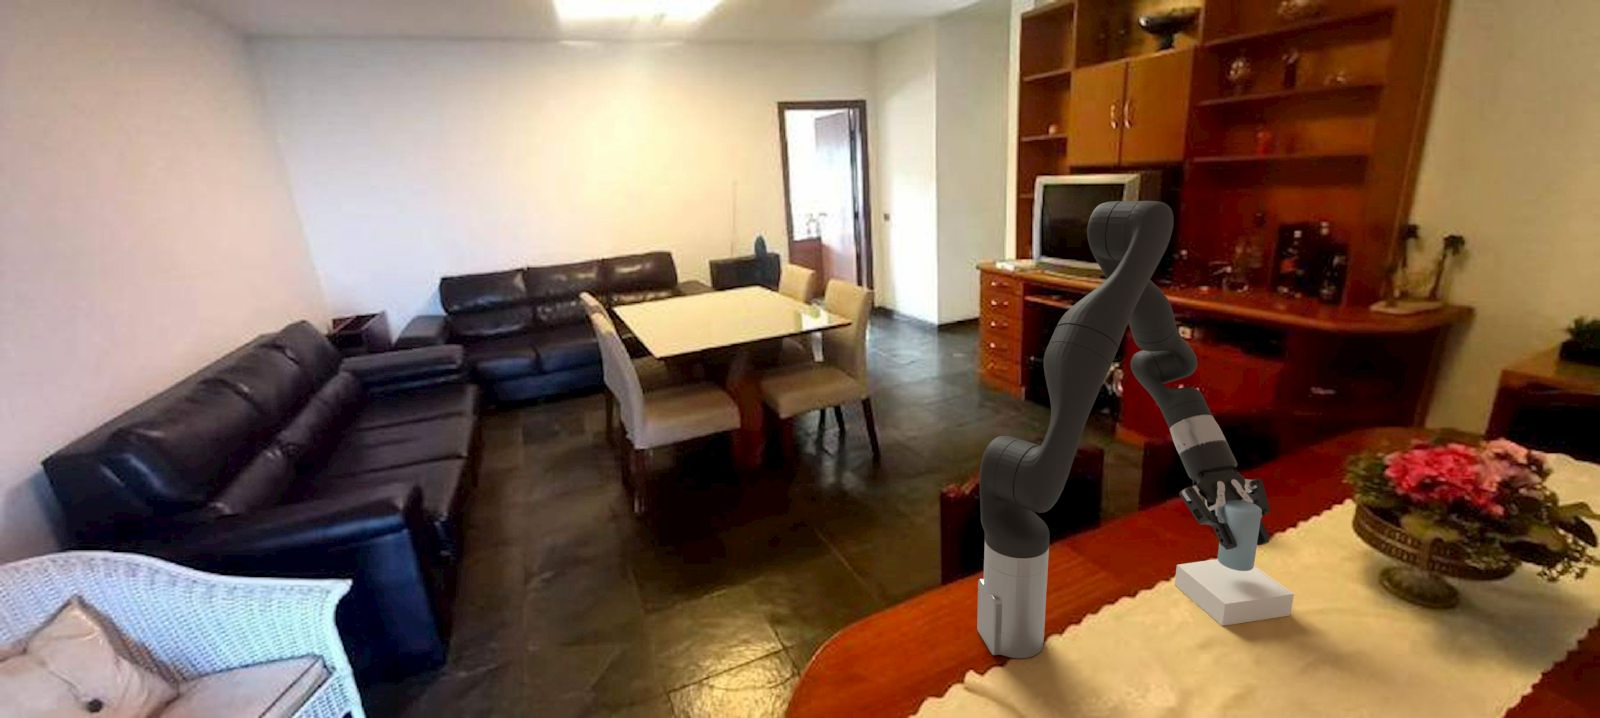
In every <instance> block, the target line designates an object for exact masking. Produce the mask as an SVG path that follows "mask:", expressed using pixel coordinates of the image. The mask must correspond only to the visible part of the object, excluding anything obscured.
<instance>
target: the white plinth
mask: <svg viewBox="0 0 1600 718" xmlns="http://www.w3.org/2000/svg"><path fill="white" fill-rule="evenodd" d="M1174 586H1175V587H1176V588H1178V589H1179V590H1180V591H1181V592H1182V593H1183V594H1185V596H1187V597H1188V598H1189V599H1190V600H1192V602H1194V603H1195V604H1196V606H1197V605H1198V607H1199V608H1201V610H1203V611H1204V612H1206V614H1208V615H1209V616H1210V617H1211V618H1212V619H1213V620H1214V621H1216V622H1217V623H1218V624H1219V625H1221V626H1222V627H1224V626H1230V625H1236V624H1237V625H1238V624H1243V623H1250V622H1258V621H1263V620H1268V619H1276V618H1281V617H1283V618H1284V617H1289V616H1291V614H1292V609H1293V602H1294V596H1295V593H1294V592H1292V591H1291V590H1289V589H1288V588H1286V587H1285V586H1284V585H1282V584H1281V583H1279V582H1278V581H1276V580H1275V579H1274V578H1272V577H1271V576H1269V575H1268V574H1266V573H1265V572H1264V571H1262V570H1261V569H1260V568H1258V567H1257V566H1255V565H1254V567H1253V569H1252V570H1249V571H1238V570H1233V569H1230V568H1228V567H1225V566H1224V565H1222V564H1221V563H1220V562H1219V561H1218V559H1217V558H1216V559H1207V560H1202V561H1193V562H1186V563H1181V564H1176V570H1175V579H1174Z"/></svg>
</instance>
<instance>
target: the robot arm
mask: <svg viewBox="0 0 1600 718" xmlns="http://www.w3.org/2000/svg"><path fill="white" fill-rule="evenodd" d="M1086 229H1087V231H1086V232H1087V233H1086V234H1087V235H1086V236H1087V241H1088V246H1089V249H1090V251H1091V254H1092V255H1093V257H1094V259H1095V260H1096V262H1097V264H1098V266H1099V267H1100V270H1101V271H1102V272H1103V274H1104V277H1105V278H1106V279H1105V281H1104V282H1102V283H1101V284H1100V285H1098V286H1097V287H1096V288H1095V289H1093V290H1092V291H1090V292H1089V293H1088V294H1087V295H1085V296H1084V297H1082V298H1081V299H1080V300H1079V301H1077V302H1076V303H1075V304H1073V306H1071V307H1070V308H1069V309H1068V310H1067V311H1066V312H1064V314H1063V315H1062V316H1061V318H1060V319H1059V321H1058V323H1057V325H1056V326H1055V329H1054V331H1053V333H1052V336H1051V338H1050V340H1049V342H1048V344H1047V347H1046V349H1045V351H1044V355H1043V370H1044V377H1045V381H1046V382H1045V383H1046V387H1047V392H1048V395H1049V401H1050V408H1051V409H1050V412H1051V413H1050V420H1049V424H1048V428H1047V431H1046V434H1045V436H1044V439H1043V441H1042V443H1041V445H1040V444H1037V443H1034V442H1030V441H1027V440H1023V439H1020V438H1017V437H1013V436H1009V435H998V436H997V437H995V438H994V439H992V440H991V441H990V442H989V443H988V445H987V446H986V448H985V450H984V452H983V455H982V458H981V463H980V468H979V502H980V507H979V508H980V523H981V526H982V528H983V532H984V551H983V552H984V553H983V554H984V555H983V557H984V558H983V578H979V579H978V581H977V583H978V584H977V622H976V623H977V625H976V626H977V627H976V628H977V630H976V631H977V632H978V633H979V635H980V637H981V639H982V640H983V642H984V643H985V645H986V647H987V648H988V650H989V652H990V653H991V655H992V656H997V655H999V656H1000V655H1001V656H1003V657H1008V658H1012V659H1027V658H1031V657H1032V658H1033V657H1034V656H1036V655H1038V654H1039V653H1040V652H1041V651H1042V649H1043V647H1044V639H1045V623H1046V605H1047V604H1046V603H1047V590H1048V589H1047V588H1048V585H1047V584H1048V571H1049V570H1048V569H1049V553H1050V552H1049V551H1050V529H1049V527H1048V525H1047V524H1046V522H1045V521H1044V520H1043V519H1042V518H1041V517H1040V516H1039V515H1037V514H1038V513H1039V514H1042V513H1046V512H1048V511H1050V510H1051V509H1052V508H1053V507H1054V506H1055V504H1056V503H1057V502H1058V501H1059V498H1060V497H1061V495H1062V492H1063V491H1064V488H1065V486H1066V483H1067V481H1068V478H1069V475H1070V473H1071V469H1072V466H1073V462H1074V459H1075V457H1076V452H1077V451H1078V448H1079V445H1080V442H1081V438H1082V434H1083V432H1084V429H1085V426H1086V424H1087V421H1088V418H1089V415H1090V413H1091V411H1092V409H1093V406H1094V404H1095V402H1096V399H1097V397H1098V395H1099V392H1100V391H1101V388H1102V386H1103V384H1104V382H1105V380H1106V377H1107V376H1108V373H1109V371H1110V369H1111V367H1112V364H1113V361H1114V360H1115V357H1116V354H1117V353H1118V351H1119V348H1120V345H1121V342H1122V341H1123V337H1124V335H1125V332H1126V329H1127V327H1128V325H1129V328H1130V332H1131V334H1132V339H1133V341H1134V343H1135V345H1136V346H1137V347H1138V348H1139V349H1141V350H1140V351H1137V352H1136V353H1134V354H1133V356H1132V358H1131V360H1130V369H1131V372H1132V374H1133V376H1134V378H1135V379H1136V380H1137V381H1138V382H1139V384H1140V385H1141V386H1142V387H1143V388H1144V389H1145V390H1146V391H1147V392H1148V394H1149V395H1150V396H1151V397H1152V399H1153V400H1154V402H1155V403H1156V404H1157V406H1158V407H1159V409H1160V412H1161V413H1162V416H1163V417H1164V420H1165V423H1166V424H1167V426H1168V428H1169V429H1168V430H1169V432H1170V435H1171V438H1172V442H1173V444H1174V446H1175V449H1176V451H1177V453H1178V456H1179V457H1180V460H1181V462H1182V464H1183V467H1184V470H1185V471H1186V473H1187V476H1188V477H1189V479H1191V480H1192V486H1188V487H1186V488H1184V489H1182V490H1180V492H1178V493H1179V494H1178V495H1179V497H1180V498H1181V500H1182V501H1183V502H1184V504H1185V505H1186V507H1187V508H1188V510H1189V511H1190V513H1191V514H1192V516H1193V517H1194V519H1195V520H1196V521H1197V523H1198V524H1199V525H1202V526H1203V525H1206V526H1210V527H1211V528H1212V529H1213V530H1214V534H1215V535H1216V538H1217V540H1218V542H1219V543H1220V544H1221V545H1222V546H1224V548H1225V549H1226V550H1229V549H1233V548H1236V547H1237V543H1236V541H1235V538H1234V536H1233V534H1232V532H1231V530H1230V527H1229V526H1228V524H1225V514H1224V507H1225V505H1224V504H1226V503H1225V502H1226V501H1229V500H1243V501H1247V502H1251V503H1253V504H1255V505H1257V506H1259V507H1260V508H1261V509H1262V514H1261V521H1260V527H1259V534H1258V541H1257V546H1263V545H1267V544H1268V543H1269V542H1270V535H1269V533H1268V530H1267V529H1266V526H1265V524H1264V522H1263V519H1262V518H1263V516H1265V515H1267V514H1269V513H1270V512H1271V510H1270V509H1271V508H1270V505H1269V501H1268V497H1267V494H1266V490H1265V489H1266V488H1265V485H1264V483H1263V480H1262V479H1261V478H1260V477H1257V478H1254V479H1249V478H1248V479H1247V478H1244V477H1243V475H1242V474H1240V472H1239V471H1238V462H1237V460H1236V457H1235V455H1234V454H1233V452H1232V450H1231V448H1230V446H1229V443H1228V441H1227V439H1226V437H1225V435H1224V434H1223V431H1222V429H1221V428H1220V425H1219V424H1218V422H1217V421H1216V420H1215V418H1214V416H1213V413H1212V412H1211V410H1210V408H1209V406H1208V404H1207V401H1206V400H1205V398H1204V396H1203V394H1202V392H1201V391H1200V390H1199V389H1198V388H1195V387H1189V386H1188V387H1178V388H1177V387H1175V388H1174V387H1168V386H1166V385H1165V384H1168V383H1172V382H1175V381H1178V380H1181V379H1184V378H1185V379H1186V378H1188V377H1190V376H1191V375H1193V374H1194V373H1195V371H1196V370H1197V367H1198V358H1197V355H1196V353H1195V352H1194V350H1193V349H1192V347H1191V346H1190V344H1189V343H1188V342H1187V341H1186V340H1185V339H1184V338H1183V336H1182V335H1181V334H1180V332H1179V330H1178V327H1177V323H1176V318H1175V314H1174V311H1173V308H1172V304H1171V303H1170V301H1169V299H1168V297H1167V296H1166V295H1165V293H1164V292H1163V291H1162V290H1161V288H1159V286H1157V285H1156V284H1155V283H1154V282H1153V281H1152V280H1151V278H1152V277H1153V275H1154V274H1155V271H1156V269H1157V267H1158V265H1159V264H1160V262H1161V261H1162V258H1163V256H1164V255H1165V253H1166V250H1167V248H1168V246H1169V243H1170V241H1171V238H1172V237H1171V236H1172V233H1173V229H1174V213H1173V210H1172V208H1171V207H1170V206H1169V205H1168V204H1167V203H1165V202H1162V201H1157V200H1156V201H1155V200H1116V201H1115V200H1114V201H1113V200H1111V201H1106V202H1102V203H1100V204H1098V205H1097V206H1096V207H1095V208H1094V210H1093V211H1092V213H1091V214H1090V217H1089V219H1088V223H1087V228H1086ZM1200 495H1201V496H1202V497H1203V498H1204V499H1205V504H1204V502H1203V501H1202V499H1201V498H1200Z"/></svg>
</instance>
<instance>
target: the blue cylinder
mask: <svg viewBox="0 0 1600 718" xmlns="http://www.w3.org/2000/svg"><path fill="white" fill-rule="evenodd" d="M1225 503H1226V504H1224V505H1225V507H1224V514H1225V524H1228V526H1229V527H1230V530H1231V532H1232V534H1233V536H1234V538H1235V541H1236V543H1237V547H1236V548H1233V549H1229V550H1226V549H1225V548H1224V546H1222V545H1221V544H1220V542H1219V543H1218V551H1217V558H1216V559H1218V561H1219V562H1220V563H1221V564H1222V565H1224V566H1225V567H1228V568H1230V569H1233V570H1238V571H1249V570H1252V569H1253V567H1254V566H1255V561H1256V553H1257V548H1258V547H1257V546H1258V545H1257V541H1258V534H1259V527H1260V521H1261V514H1262V509H1261V508H1260V507H1259V506H1257V505H1255V504H1253V503H1251V502H1247V501H1243V500H1229V501H1226V502H1225Z"/></svg>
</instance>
